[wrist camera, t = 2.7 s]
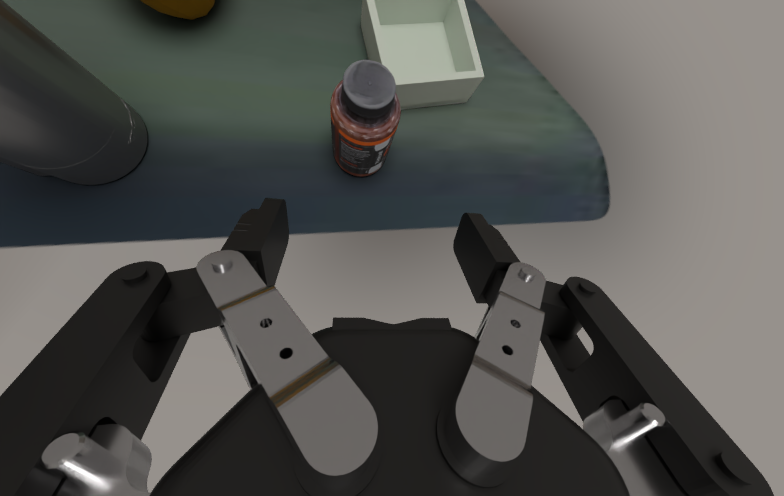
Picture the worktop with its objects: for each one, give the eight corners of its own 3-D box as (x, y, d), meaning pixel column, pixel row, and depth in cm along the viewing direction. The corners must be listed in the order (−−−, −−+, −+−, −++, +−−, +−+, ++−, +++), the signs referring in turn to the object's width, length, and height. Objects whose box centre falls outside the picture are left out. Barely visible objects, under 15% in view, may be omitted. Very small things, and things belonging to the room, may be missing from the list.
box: (380, 112, 32) (387, 85, 28) (360, 25, 33) (363, -13, 29) (466, 102, 35) (484, 76, 30) (445, 21, 35) (460, -15, 31)
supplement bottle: (389, 176, 32) (414, 121, 21) (336, 180, 31) (333, 123, 20) (382, 126, 32) (403, 47, 21) (330, 128, 31) (323, 45, 20)
